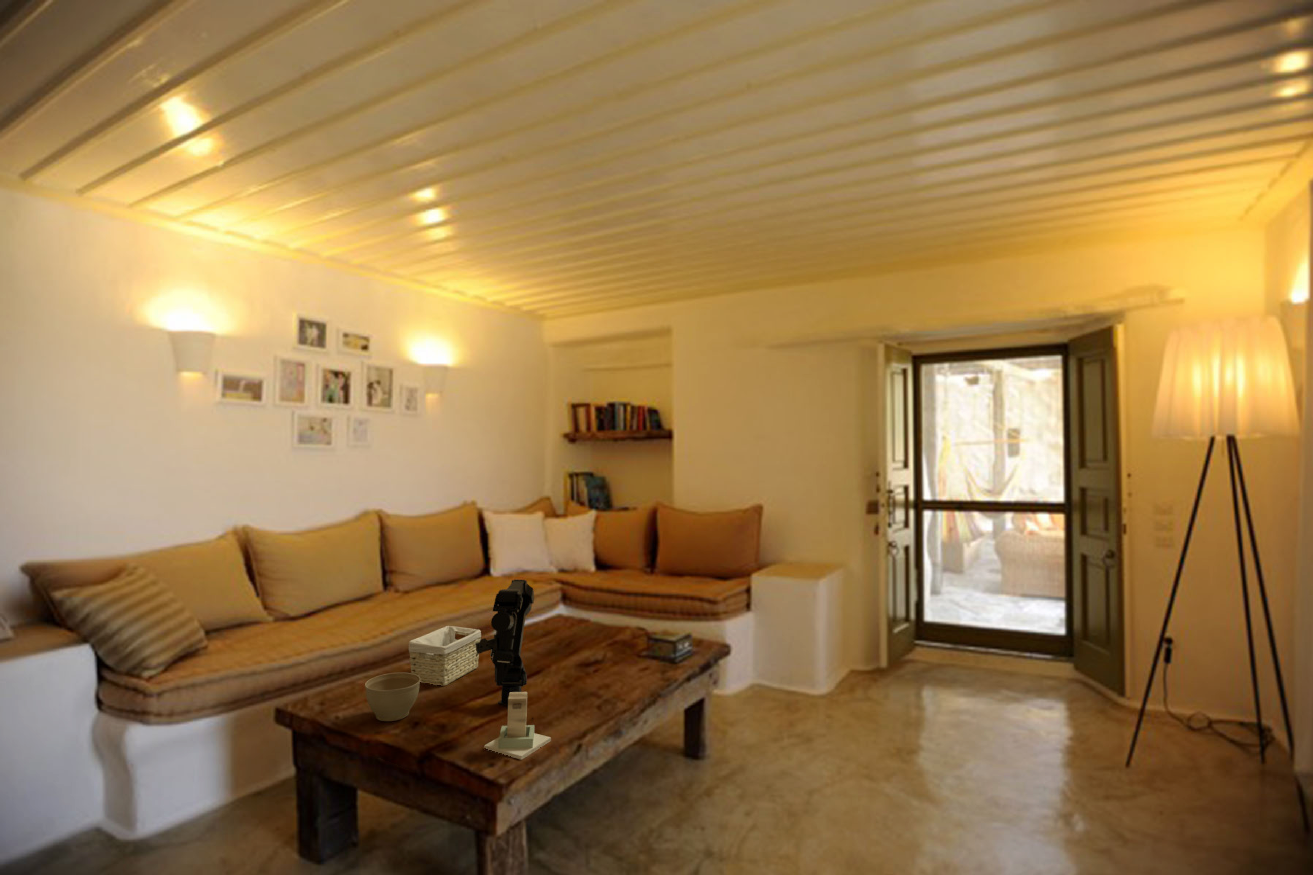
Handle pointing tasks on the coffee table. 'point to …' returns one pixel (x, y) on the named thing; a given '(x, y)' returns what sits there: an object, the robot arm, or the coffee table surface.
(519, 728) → the birch cabinet block
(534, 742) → the board
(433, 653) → the storage basket
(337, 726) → the coffee table surface
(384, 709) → the planter bowl
